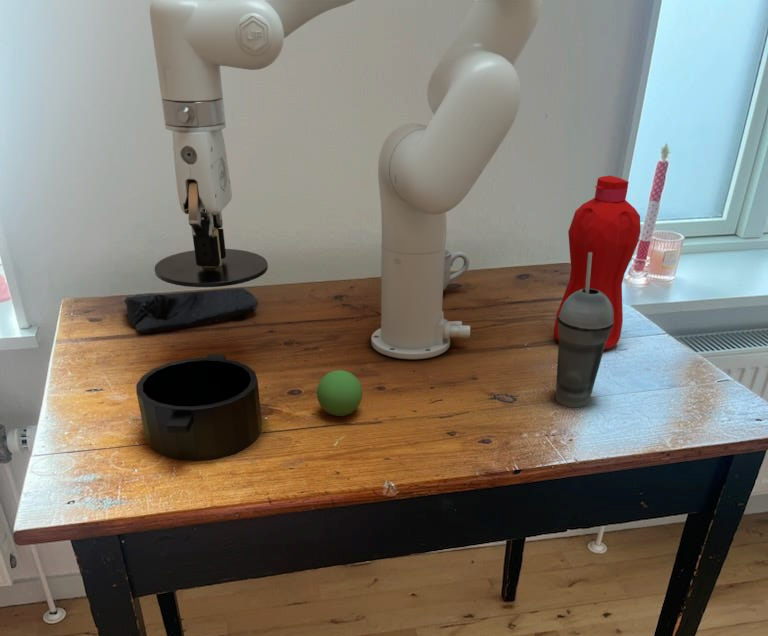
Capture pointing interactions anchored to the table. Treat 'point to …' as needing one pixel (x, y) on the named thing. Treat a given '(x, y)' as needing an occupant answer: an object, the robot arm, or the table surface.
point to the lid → (211, 268)
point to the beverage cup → (581, 342)
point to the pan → (200, 408)
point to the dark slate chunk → (188, 308)
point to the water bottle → (603, 246)
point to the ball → (339, 393)
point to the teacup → (449, 262)
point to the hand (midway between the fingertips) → (211, 260)
